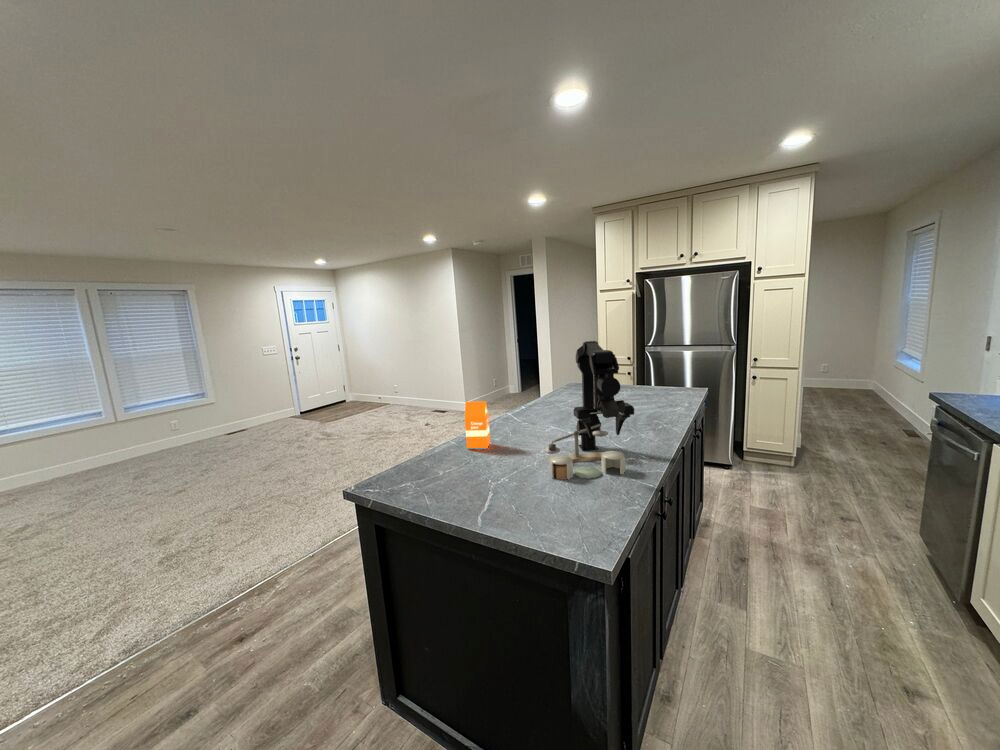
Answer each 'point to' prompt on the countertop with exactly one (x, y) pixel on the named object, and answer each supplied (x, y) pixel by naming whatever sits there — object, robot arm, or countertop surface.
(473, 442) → the orange juice
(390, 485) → the countertop surface
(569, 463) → the cover
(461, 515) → the countertop surface
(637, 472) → the countertop surface
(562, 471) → the block
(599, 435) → the balance
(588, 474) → the dish
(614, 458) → the cover
